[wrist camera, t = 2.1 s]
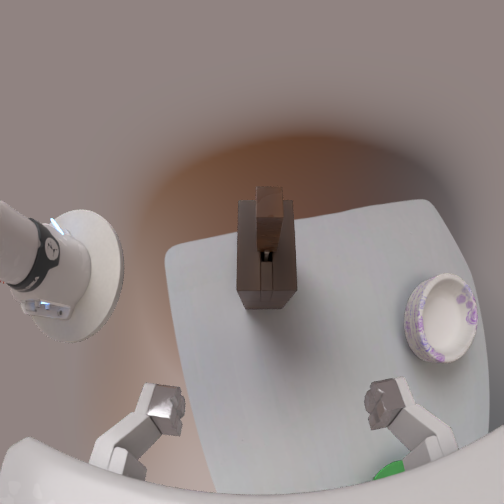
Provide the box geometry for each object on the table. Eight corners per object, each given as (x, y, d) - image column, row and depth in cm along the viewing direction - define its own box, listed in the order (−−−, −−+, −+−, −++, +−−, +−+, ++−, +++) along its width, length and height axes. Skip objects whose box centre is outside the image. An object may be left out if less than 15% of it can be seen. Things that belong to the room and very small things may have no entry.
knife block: (280, 250, 47) (292, 200, 30) (282, 308, 44) (297, 290, 27) (245, 250, 47) (238, 200, 30) (245, 309, 44) (236, 290, 27)
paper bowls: (464, 321, 41) (489, 316, 34) (422, 377, 39) (446, 381, 31) (427, 266, 45) (449, 254, 38) (379, 320, 43) (401, 316, 35)
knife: (272, 252, 36) (282, 183, 20) (272, 274, 35) (284, 220, 19) (257, 252, 36) (255, 183, 20) (257, 274, 36) (255, 220, 19)
